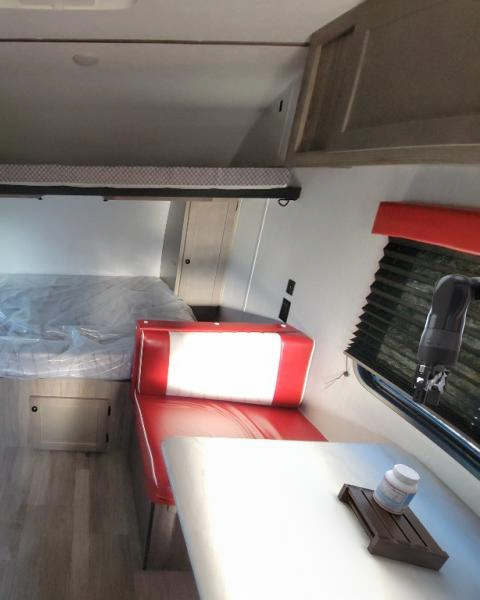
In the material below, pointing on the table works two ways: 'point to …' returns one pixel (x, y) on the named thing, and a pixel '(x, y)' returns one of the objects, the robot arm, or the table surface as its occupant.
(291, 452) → the table surface
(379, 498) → the pill bottle
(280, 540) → the table surface
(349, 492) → the rack
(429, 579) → the table surface
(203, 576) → the table surface
